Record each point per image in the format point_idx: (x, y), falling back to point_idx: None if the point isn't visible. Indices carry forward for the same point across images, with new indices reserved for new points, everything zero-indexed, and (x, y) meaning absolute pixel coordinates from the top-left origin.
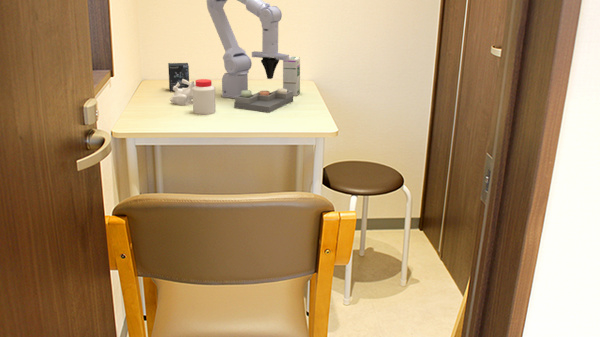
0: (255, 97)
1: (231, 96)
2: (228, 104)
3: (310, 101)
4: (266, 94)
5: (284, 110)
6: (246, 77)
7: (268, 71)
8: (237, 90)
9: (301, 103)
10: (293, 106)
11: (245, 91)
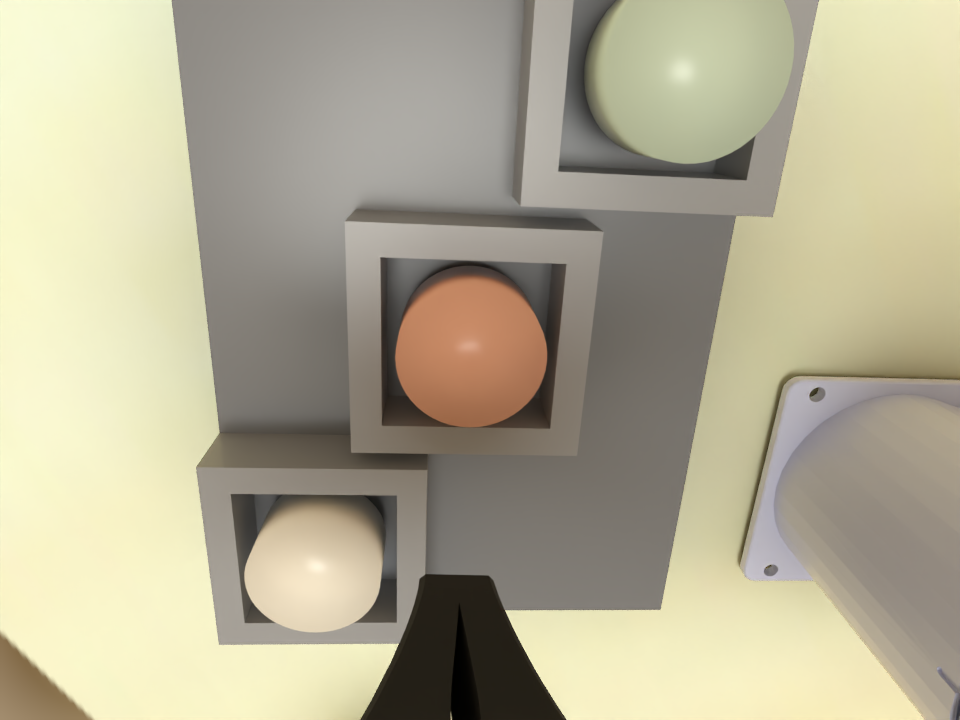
0: (523, 128)
1: (935, 396)
2: (881, 87)
3: (90, 624)
4: (415, 305)
5: (86, 128)
6: (924, 654)
7: (452, 677)
8: (914, 440)
9: (119, 519)
10: (113, 365)
11: (707, 33)
